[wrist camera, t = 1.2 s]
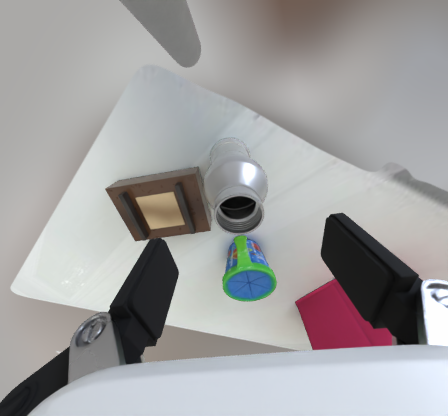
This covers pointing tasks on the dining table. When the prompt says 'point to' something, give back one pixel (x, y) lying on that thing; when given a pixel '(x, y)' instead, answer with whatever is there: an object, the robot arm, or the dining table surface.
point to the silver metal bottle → (235, 187)
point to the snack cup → (247, 272)
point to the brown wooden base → (162, 204)
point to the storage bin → (337, 321)
